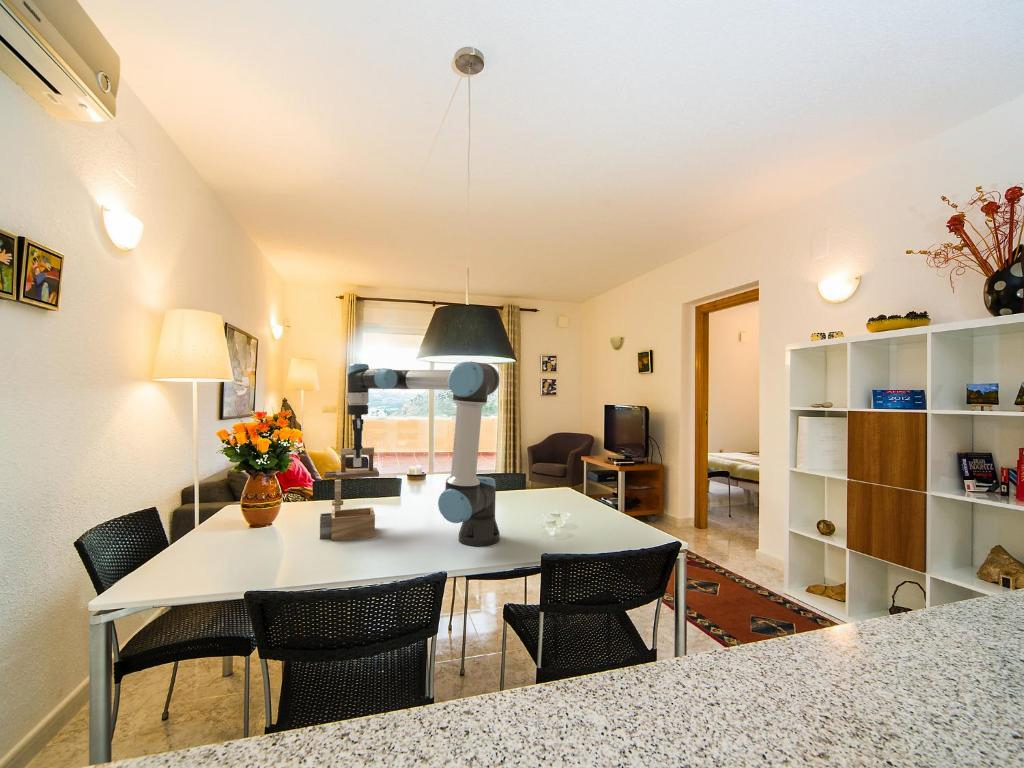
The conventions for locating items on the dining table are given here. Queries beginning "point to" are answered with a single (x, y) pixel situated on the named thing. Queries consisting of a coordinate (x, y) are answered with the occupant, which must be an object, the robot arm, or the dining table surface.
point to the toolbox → (347, 524)
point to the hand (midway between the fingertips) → (357, 465)
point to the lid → (354, 473)
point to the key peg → (337, 495)
